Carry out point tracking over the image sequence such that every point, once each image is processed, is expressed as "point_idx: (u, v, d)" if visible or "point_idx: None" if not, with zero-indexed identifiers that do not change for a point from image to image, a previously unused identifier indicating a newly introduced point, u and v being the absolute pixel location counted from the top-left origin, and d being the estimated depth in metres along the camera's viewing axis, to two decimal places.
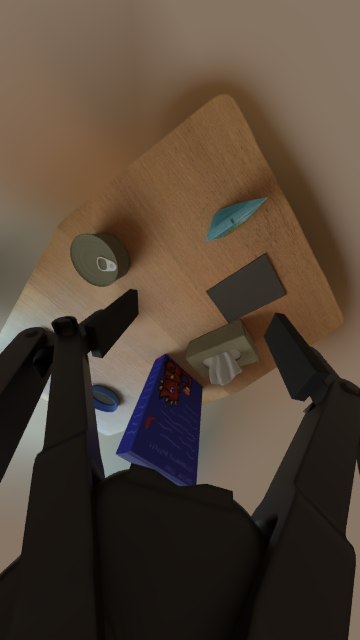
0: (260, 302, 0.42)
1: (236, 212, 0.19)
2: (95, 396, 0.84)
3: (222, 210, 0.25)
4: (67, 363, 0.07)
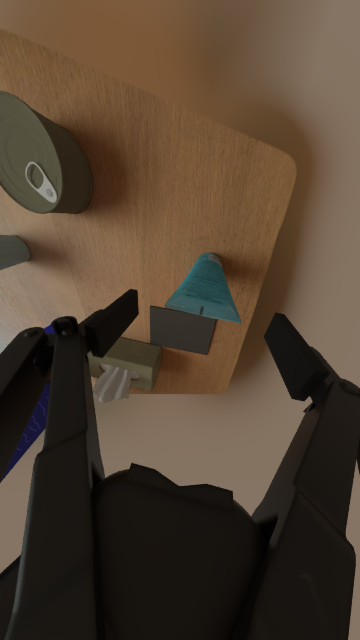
0: (185, 347, 0.42)
1: (211, 304, 0.16)
2: None
3: (209, 269, 0.22)
4: (67, 363, 0.07)
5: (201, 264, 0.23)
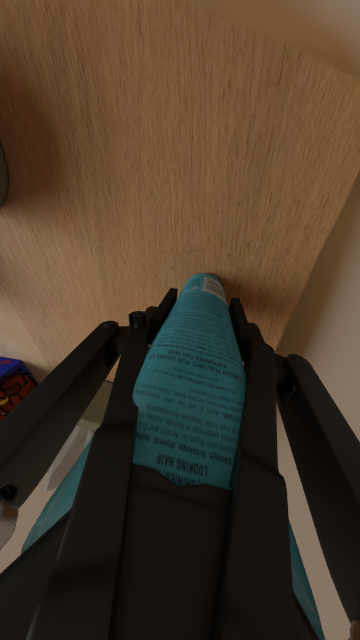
0: None
1: None
2: None
3: (203, 323, 0.10)
4: (132, 353, 0.08)
5: (187, 306, 0.12)
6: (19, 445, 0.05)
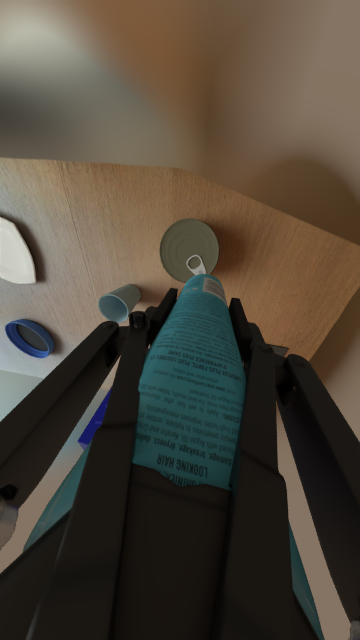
0: None
1: None
2: (21, 330, 0.64)
3: (203, 324, 0.10)
4: (133, 353, 0.08)
5: (188, 306, 0.12)
6: (19, 445, 0.05)
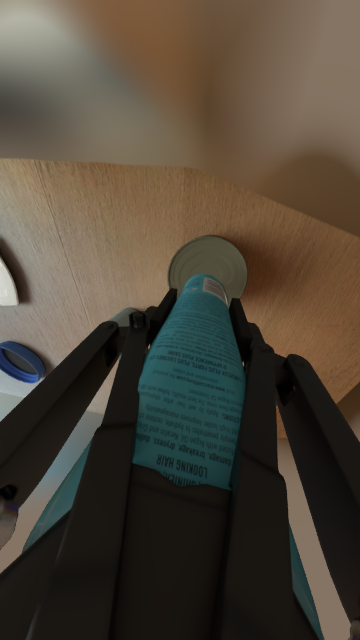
0: None
1: None
2: (8, 353, 0.57)
3: (203, 324, 0.10)
4: (133, 353, 0.08)
5: (187, 306, 0.12)
6: (19, 445, 0.05)
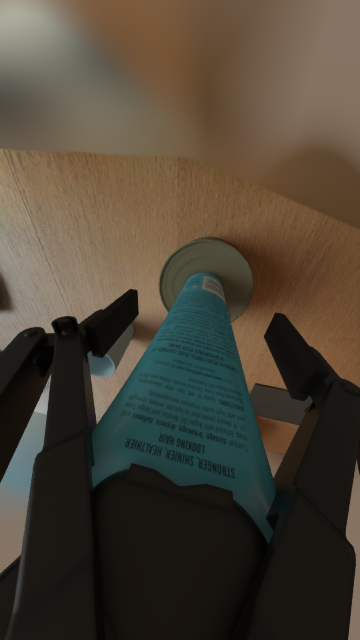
0: (280, 417, 0.41)
1: None
2: None
3: (202, 320, 0.11)
4: (67, 363, 0.07)
5: (187, 303, 0.12)
6: None
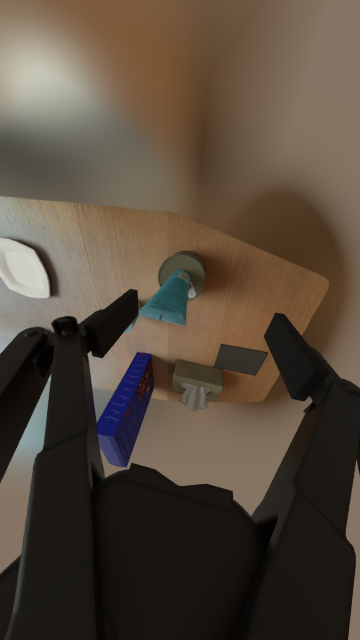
0: (240, 370, 0.60)
1: (168, 312, 0.24)
2: None
3: (174, 286, 0.30)
4: (67, 363, 0.07)
5: (170, 281, 0.31)
6: None
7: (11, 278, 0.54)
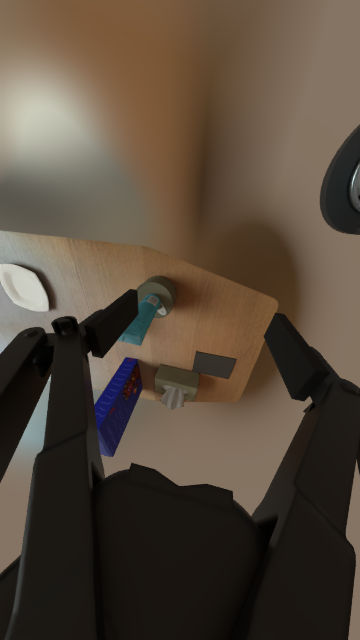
0: (215, 374, 0.68)
1: (129, 335, 0.32)
2: None
3: (140, 311, 0.38)
4: (67, 363, 0.07)
5: (138, 306, 0.40)
6: None
7: (16, 294, 0.64)
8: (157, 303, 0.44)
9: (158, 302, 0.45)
